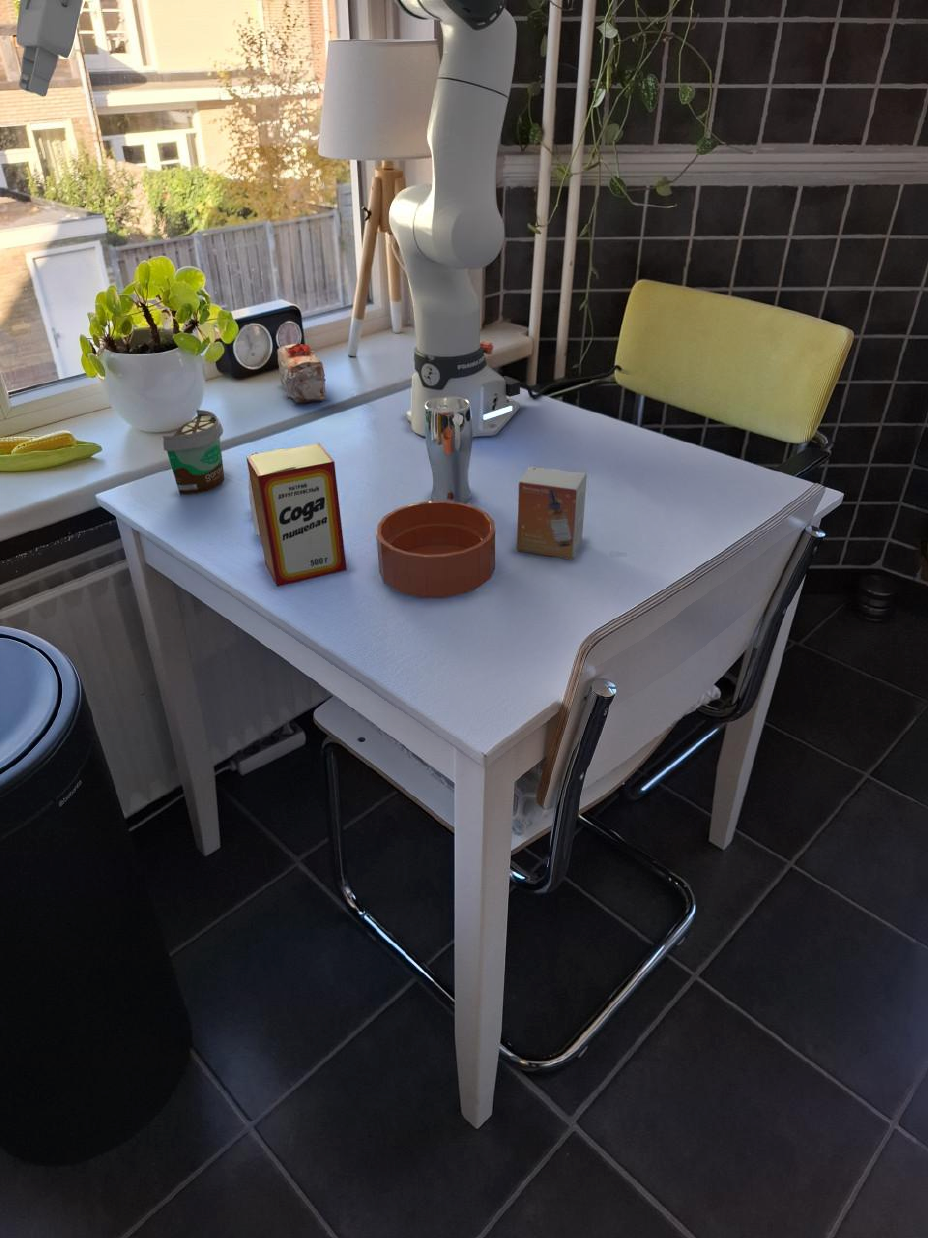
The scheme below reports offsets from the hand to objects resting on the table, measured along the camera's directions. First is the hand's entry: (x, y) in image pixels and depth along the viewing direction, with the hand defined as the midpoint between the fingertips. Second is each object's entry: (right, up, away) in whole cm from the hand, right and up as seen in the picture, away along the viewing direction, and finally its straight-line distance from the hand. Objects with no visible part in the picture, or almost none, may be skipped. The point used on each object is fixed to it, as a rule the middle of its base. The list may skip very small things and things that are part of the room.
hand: (31, 92), depth 105 cm
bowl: (+49, -57, +10) cm, 76 cm away
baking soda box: (+31, -57, +12) cm, 66 cm away
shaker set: (+24, -51, +22) cm, 60 cm away
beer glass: (+50, -45, +28) cm, 73 cm away
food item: (+20, -19, +68) cm, 74 cm away
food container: (+12, -42, +35) cm, 56 cm away
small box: (+64, -54, +15) cm, 85 cm away
